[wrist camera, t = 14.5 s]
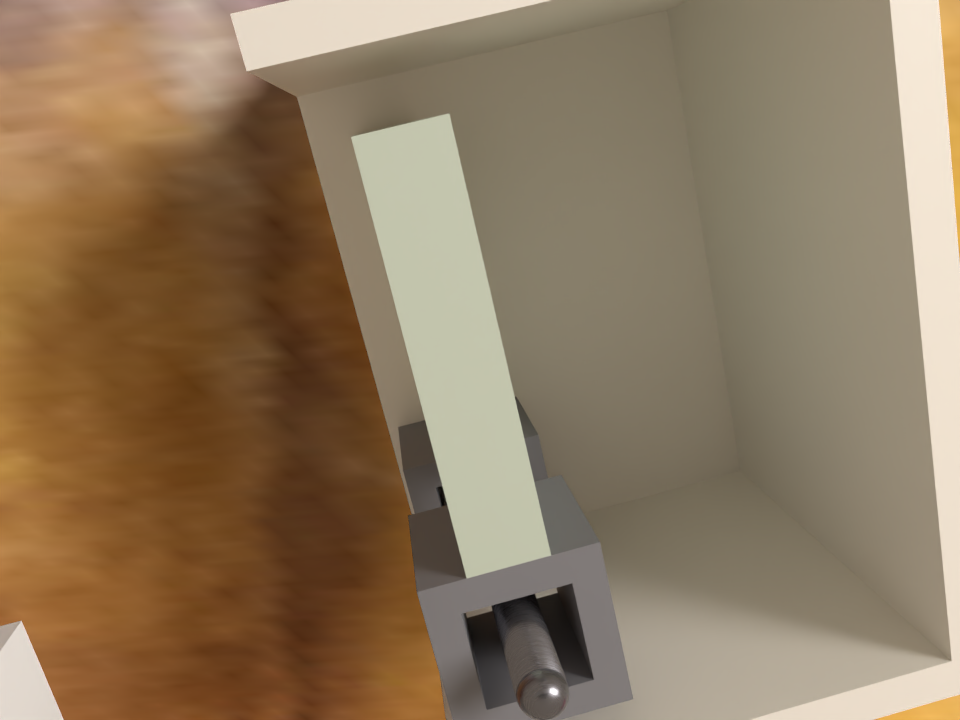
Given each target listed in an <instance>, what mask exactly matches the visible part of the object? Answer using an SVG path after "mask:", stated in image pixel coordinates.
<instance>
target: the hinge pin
mask: <svg viewBox="0 0 960 720" xmlns="http://www.w3.org/2000/svg"><path fill="white" fill-rule="evenodd" d="M491 607H492V610H493V614H494V618H495V622H496V625H497V629H498V633H499V636H500V640H501V644H502V648H503V651H504V655H505V659H506V663H507V666H508V670H509V674H510V678H511V681H512V685H513V689H514V692H515V696H516V700H517V703H518V705H519V707H520V709H521V710H522V711H523V712H524V713H525V714H526V715H527V716H528V717H530V718H532V719H534V720H552V719H555V718H556V717H558V716H559V715H560V714H561V713H562V712H563V711H564V710H565V708H566V706H567V704H568V700H569V686H568V683H567V680H566V677H565V675H564V672H563V669H562V666H561V664H560V661H559V658H558V656H557V653H556V650H555V647H554V645H553V642H552V639H551V637H550V634H549V631H548V628H547V626H546V623H545V620H544V618H543V615H542V612H541V609H540V607H539V604H538V601H537V599H536V596H535V594H531V595H528V596H524V597H521V598H517V599H513V600H510V601H506V602H502V603H499V604H495V605H492V606H491Z"/></svg>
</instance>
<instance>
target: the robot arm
mask: <svg viewBox="0 0 960 720" xmlns="http://www.w3.org/2000/svg"><path fill="white" fill-rule="evenodd" d="M0 720H64V719H63V717H62V715H61V712H60V710H59V708H58V705H57V703H56V701H55V698H54V696H53V694H52V691H51V689H50V687H49V684H48V682H47V679H46V677H45V675H44V672H43V670H42V668H41V665H40V663H39V661H38V658H37V656H36V654H35V651H34V649H33V647H32V644H31V642H30V640H29V637H28V635H27V633H26V630H25V628H24V625H23V623H22V621H19V622H15V623H11V624H7V625H4V626H0Z"/></svg>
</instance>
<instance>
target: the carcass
mask: <svg viewBox="0 0 960 720" xmlns="http://www.w3.org/2000/svg"><path fill="white" fill-rule="evenodd" d="M230 15H231V18H232V22H233V25H234V29H235V32H236V36H237V39H238V43H239V46H240V50H241V53H242V57H243V60H244V63H245V67H246V70H247V72H249V73H251V74H253V75H255V76H257V77H259V78H261V79H263V80H265V81H267V82H269V83H271V84H273V85H274V86H276V87H278V88H280V89H282V90H284V91H286V92H288V93H290V94H292V95H294V96H296V97H297V99H298V103H299V106H300V110H301V114H302V117H303V121H304V125H305V128H306V132H307V135H308V139H309V143H310V146H311V150H312V154H313V157H314V161H315V165H316V168H317V172H318V175H319V179H320V183H321V186H322V190H323V194H324V197H325V201H326V205H327V208H328V212H329V215H330V219H331V223H332V226H333V230H334V234H335V237H336V241H337V245H338V248H339V252H340V255H341V259H342V263H343V266H344V270H345V274H346V277H347V281H348V284H349V288H350V292H351V295H352V299H353V303H354V306H355V310H356V314H357V317H358V321H359V324H360V328H361V332H362V335H363V339H364V343H365V346H366V350H367V354H368V357H369V361H370V364H371V368H372V372H373V375H374V379H375V383H376V386H377V390H378V394H379V397H380V401H381V404H382V408H383V412H384V415H385V419H386V423H387V426H388V430H389V434H390V437H391V441H392V444H393V448H394V452H395V455H396V459H397V463H398V466H399V470H400V473H401V477H402V481H403V484H404V488H405V492H406V495H407V499H408V503H409V506H410V510H411V513H412V514H415V513H414V509H413V505H412V502H411V498H410V494H409V491H408V487H407V483H406V480H405V476H404V472H403V466H402V458H401V449H400V440H399V431H398V427H400V426H404V425H408V424H412V423H416V422H420V421H423V420H425V418H424V414H423V410H422V406H421V402H420V399H419V395H418V391H417V387H416V383H415V379H414V376H413V372H412V368H411V364H410V360H409V357H408V353H407V349H406V345H405V341H404V337H403V334H402V330H401V326H400V322H399V318H398V315H397V311H396V307H395V303H394V299H393V295H392V292H391V288H390V284H389V280H388V276H387V273H386V269H385V265H384V261H383V257H382V253H381V250H380V246H379V242H378V238H377V234H376V231H375V227H374V223H373V219H372V215H371V211H370V208H369V204H368V200H367V196H366V192H365V189H364V185H363V181H362V177H361V173H360V169H359V166H358V162H357V158H356V154H355V150H354V147H353V143H352V139H351V137H352V136H355V135H358V134H362V133H366V132H370V131H374V130H379V129H383V128H387V127H391V126H395V125H400V124H404V123H408V122H412V121H416V120H421V119H426V118H430V117H435V116H440V115H444V114H450V118H451V123H452V127H453V131H454V136H455V140H456V144H457V149H458V153H459V157H460V162H461V166H462V170H463V175H464V179H465V183H466V188H467V192H468V196H469V201H470V205H471V209H472V214H473V218H474V222H475V227H476V231H477V235H478V240H479V244H480V248H481V253H482V257H483V262H484V266H485V270H486V275H487V279H488V283H489V288H490V292H491V296H492V301H493V305H494V309H495V314H496V318H497V322H498V327H499V331H500V335H501V340H502V344H503V348H504V353H505V357H506V361H507V366H508V370H509V374H510V379H511V383H512V387H513V392H514V396H516V397H517V398H518V400H519V402H520V404H521V405H522V407H523V409H524V411H525V412H526V414H527V416H528V418H529V419H530V421H531V423H532V425H533V426H534V428H535V430H536V431H537V433H538V435H539V440H540V444H541V449H542V453H543V458H544V462H545V466H546V471H547V475H548V478H550V477H554V476H558V475H562V477H563V478H564V480H565V482H566V484H567V485H568V487H569V489H570V491H571V492H572V494H573V496H574V498H575V499H576V501H577V503H578V505H579V506H580V508H581V510H582V512H583V513H584V515H585V517H586V519H587V520H588V522H589V524H590V525H591V527H592V529H593V531H594V532H595V534H596V536H597V538H598V539H599V541H600V544H601V549H602V554H603V558H604V563H605V568H606V572H607V577H608V582H609V587H610V591H611V596H612V601H613V605H614V610H615V615H616V620H617V624H618V629H619V634H620V638H621V643H622V648H623V652H624V657H625V662H626V667H627V671H628V676H629V681H630V685H631V690H632V695H633V699H632V700H629V701H625V702H622V703H618V704H615V705H611V706H608V707H604V708H601V709H597V710H594V711H590V712H587V713H583V714H580V715H576V716H573V717H569V718H566V719H562V720H874V719H877V718H880V717H884V716H887V715H891V714H894V713H898V712H901V711H904V710H908V709H911V708H915V707H918V706H922V705H925V704H928V703H932V702H935V701H939V700H942V699H946V698H949V697H952V696H956V695H959V694H960V263H959V250H958V238H957V225H956V213H955V200H954V188H953V175H952V163H951V150H950V138H949V125H948V112H947V100H946V87H945V75H944V62H943V50H942V37H941V25H940V12H939V0H289V1H285V2H281V3H276V4H272V5H267V6H263V7H259V8H254V9H250V10H246V11H241V12H237V13H232V14H230ZM438 488H439V492H440V495H441V499H442V503H443V506H446V505H447V502H446V498H445V494H444V490H443V486H440V487H438ZM555 593H558V592H557V588H553V589H550V590H546V591H542V592H539V593H535V596H536V599H537V598H541V597H544V596H548V595H551V594H555ZM490 611H493V610H492V607H491V606H488V607H484V608H481V609H477V610H473V611H470V612H466V616H467V618H468V617H472V616H475V615H479V614H483V613H486V612H490ZM440 680H441V676H440ZM441 687H442V694H443V701H444V708H445V716H446V720H453V719H452V715H451V712H450V708H449V705H448V701H447V698H446V694H445V691H444V687H443V683H442V680H441Z"/></svg>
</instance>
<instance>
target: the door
mask: <svg viewBox="0 0 960 720" xmlns="http://www.w3.org/2000/svg"><path fill="white" fill-rule="evenodd" d="M351 139H352V143H353V147H354V150H355V154H356V158H357V162H358V166H359V169H360V173H361V177H362V181H363V185H364V189H365V192H366V196H367V200H368V204H369V208H370V211H371V215H372V219H373V223H374V227H375V231H376V234H377V238H378V242H379V246H380V250H381V253H382V257H383V261H384V265H385V269H386V273H387V276H388V280H389V284H390V288H391V292H392V295H393V299H394V303H395V307H396V311H397V315H398V318H399V322H400V326H401V330H402V334H403V337H404V341H405V345H406V349H407V353H408V357H409V360H410V364H411V368H412V372H413V376H414V379H415V383H416V387H417V391H418V395H419V399H420V402H421V406H422V410H423V414H424V418H425V420H423V421H420V422H416V423H412V424H408V425H404V426H400V427H398V431H399V440H400V449H401V458H402V466H403V472H404V476H405V480H406V483H407V487H408V491H409V494H410V498H411V502H412V505H413V509H414V513H415V514H412V515H408V519H409V528H410V536H411V545H412V554H413V563H414V571H415V580H416V589H417V594H418V598H419V602H420V605H421V609H422V612H423V616H424V619H425V623H426V626H427V630H428V634H429V637H430V641H431V644H432V648H433V651H434V655H435V658H436V662H437V666H438V669H439V673H440V676H441V680H442V683H443V687H444V691H445V694H446V698H447V701H448V705H449V708H450V712H451V715H452V719H453V720H534V719H532V718H530V717H528V716H527V715H526V714H525V713H524V712H523V711H522V710H521V709H520V707H519V705H518V703H517V700H516V696H515V692H514V689H513V685H512V681H511V678H510V674H509V670H508V666H507V663H506V659H505V655H504V651H503V648H502V644H501V640H500V636H499V633H498V629H497V625H496V622H495V618H494V614H493V611H490V612H486V613H483V614H479V615H475V616H472V617H468V618H467V616H466V612H470V611H473V610H477V609H481V608H484V607H488V606H492V605H495V604H499V603H502V602H506V601H510V600H513V599H517V598H521V597H524V596H528V595H531V594H535V593H539V592H542V591H546V590H550V589H553V588H557V592H558V593H555V594H551V595H548V596H544V597H541V598H537V601H538V604H539V607H540V609H541V612H542V615H543V618H544V620H545V623H546V626H547V628H548V631H549V634H550V637H551V639H552V642H553V645H554V647H555V650H556V653H557V656H558V658H559V661H560V664H561V666H562V669H563V672H564V675H565V677H566V680H567V683H568V686H569V700H568V704H567V706H566V708H565V710H564V711H563V712H562V713H561V714H560V715H559V716H558V717H556V718H555V719H552V720H562V719H566V718H569V717H573V716H576V715H580V714H583V713H587V712H590V711H594V710H597V709H601V708H604V707H608V706H611V705H615V704H618V703H622V702H625V701H629V700H632V699H633V695H632V690H631V685H630V681H629V676H628V671H627V667H626V662H625V657H624V652H623V648H622V643H621V638H620V634H619V629H618V624H617V620H616V615H615V610H614V605H613V601H612V596H611V591H610V587H609V582H608V577H607V572H606V568H605V563H604V558H603V554H602V549H601V544H600V541H599V539H598V538H597V536H596V534H595V532H594V531H593V529H592V527H591V525H590V524H589V522H588V520H587V519H586V517H585V515H584V513H583V512H582V510H581V508H580V506H579V505H578V503H577V501H576V499H575V498H574V496H573V494H572V492H571V491H570V489H569V487H568V485H567V484H566V482H565V480H564V478H563V477H562V475H558V476H554V477H550V478H548V475H547V471H546V466H545V462H544V458H543V453H542V449H541V444H540V440H539V435H538V433H537V431H536V430H535V428H534V426H533V425H532V423H531V421H530V419H529V418H528V416H527V414H526V412H525V411H524V409H523V407H522V405H521V404H520V402H519V400H518V398H517V397H516V396H514V392H513V387H512V383H511V379H510V374H509V370H508V366H507V361H506V357H505V353H504V348H503V344H502V340H501V335H500V331H499V327H498V322H497V318H496V314H495V309H494V305H493V301H492V296H491V292H490V288H489V283H488V279H487V275H486V270H485V266H484V262H483V257H482V253H481V248H480V244H479V240H478V235H477V231H476V227H475V222H474V218H473V214H472V209H471V205H470V201H469V196H468V192H467V188H466V183H465V179H464V175H463V170H462V166H461V162H460V157H459V153H458V149H457V144H456V140H455V136H454V131H453V127H452V123H451V118H450V114H444V115H440V116H435V117H430V118H426V119H421V120H416V121H412V122H408V123H404V124H400V125H395V126H391V127H387V128H383V129H379V130H374V131H370V132H366V133H362V134H358V135H355V136H352V137H351ZM440 486H443V490H444V494H445V498H446V502H447V505H446V506H443V503H442V499H441V495H440V492H439V488H438V487H440Z"/></svg>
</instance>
